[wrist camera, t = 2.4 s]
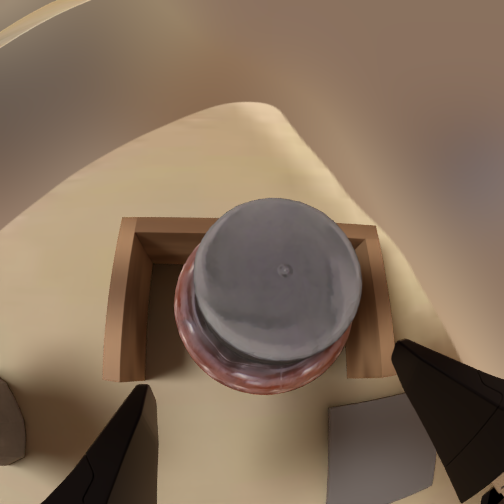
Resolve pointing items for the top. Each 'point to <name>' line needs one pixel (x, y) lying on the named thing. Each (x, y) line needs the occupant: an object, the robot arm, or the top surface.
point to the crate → (177, 252)
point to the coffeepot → (10, 428)
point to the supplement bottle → (268, 296)
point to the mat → (377, 452)
